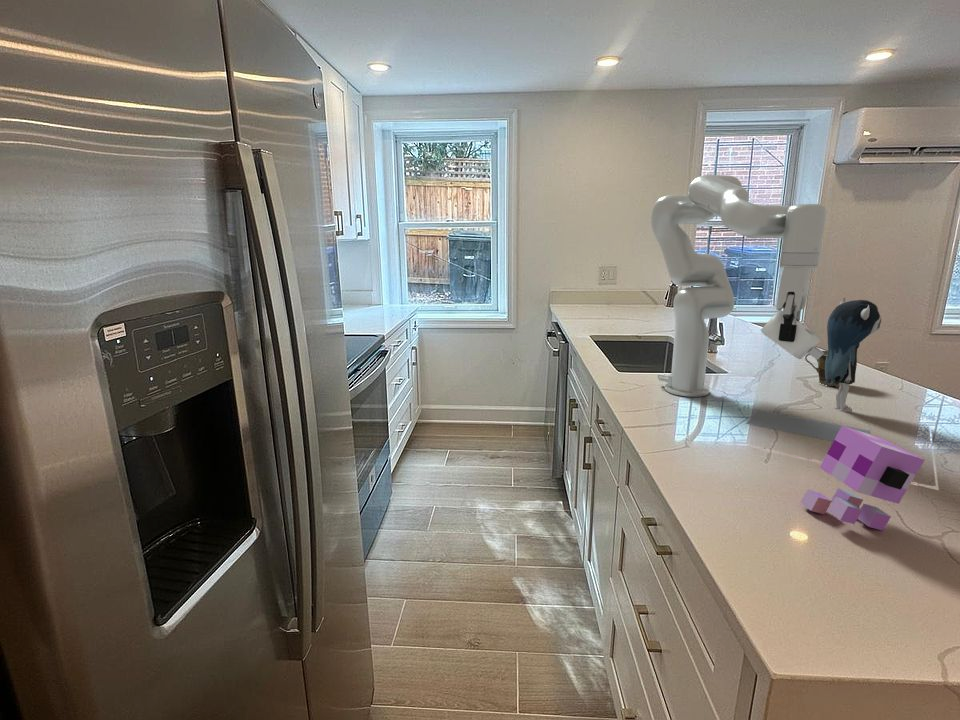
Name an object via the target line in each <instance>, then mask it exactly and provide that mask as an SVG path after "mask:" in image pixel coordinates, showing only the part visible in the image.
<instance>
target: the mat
mask: <svg viewBox="0 0 960 720" xmlns="http://www.w3.org/2000/svg"><path fill="white" fill-rule="evenodd" d="M746 425H751V426H755V427H761V428H765V429H771V430H775V431H781V432H785V433H789V434H794V435H801V436H804V437H805V436H806V437H810V438H814V439H820V440H825V441H830V442H833V441H834V439H835V437H836V436H837V434H838V432H839V430H840V428H841V426H845V427H848V428H851V429H854V430H857V431H861V432H864V433H867V434H870V430H869V429H863V428H860V427H859V428H858V427H853V426H848V425H847V426H846V425H842V424H836V423H830V422H825V421H820V420H814V419H809V418H802V417H798V416H793V415H789V414H788V415H787V414H781V413H776V412H772V411H771V412H770V411H765V410H761V409H757V410H756V411H755V413H754V414H753V415H752V416H751V417H750V418H749V419H748V421H747V422H746Z"/></svg>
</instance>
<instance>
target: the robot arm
mask: <svg viewBox="0 0 960 720" xmlns="http://www.w3.org/2000/svg"><path fill="white" fill-rule="evenodd" d="M749 200H750V196H749V192H748V190H747V189H746V188H745V187H743V185H742V182H741V181H740V179H738V178H737V177H735V176H733V175H729V174H727V175H726V174H725V175H724V174H721V175H720V174H704V175H700V176H698V177H696V178H694V179H693V180H692V181H691V183H690V184H689V186H688V189H687V194H682V193H681V194H680V193H679V194H678V193H677V194H668V195H665V196H662V197H660V198H659V199H657V200H656V201H655V203H654V204H653V207H652V210H651V216H650V224H651V227H652V232H653V235H654V236H655V238H656V240H657V242H658V245H659V247H660V249H661V252H662V256H663V259H664V262H665V264H666V269H667V271H668V272H667V273H668V275H669V278H670V281H671V282H672V284H674V285H675V286H680V287H685V288H683V289H681V290H679V291H678V292H677V293H676V294H675V296H674V298H673V303H672V304H673V305H672V307H673V314H674V336H673V337H674V338H673V350H672V360H671V373H669V374H666V373H661V372H659V373H658V374H657V380H658V381H660V382H665V384H664V391H666V392H668V393H670V394H673V395H676V396H682V397H691V398H698V397H699V398H700V397H705V396H707V395H709V394H710V389H709V387H708V386H706V385H705V381H706V370H707V363H708V362H707V360H708V352H709V342H710V332H709V329H708V326H707V324H706V322H705V320H708V319H709V320H710V319H721V318H724V317H727V316H729V315H730V314H731V313H732V312H733V310H734V307H735V295H734V291H733V289H732V286H731V283H730V281H729V278H728V274H727V272H726V267H725V266H724V263H723V262H722V260H721V259H720V258H719V257H718V256H716V255H714V254H712V253H698V252H696V251H695V249H694V246H693V245H692V241H691V239H690V236H689V235H688V234H687V233H686V231H684V230H683V228H681V227H680V225H700V224H704V223H706V222H709V221H711V220H713V219H714V218H716V217H717V216H718V217H720V220H721V222H722V224H723V225H724V226H725V228H727V229H728V230H731V231H732V232H734V233H735V234H738V235H740V236H743V237H746V238H748V239H749V238H750V239H782V243H781V244H782V245H781V253H780V259H779V268H782V272H781V277H780V282H779V286H778V287H779V288H778V291H777V292H778V294H777V299H776V305H775V309H776V311H777V312H778V311H779V310H781V311H783V315H782V321H781V324H780V332H779V341H786V342H794V341H795V334H796V327H797V325H795V324H796V320H797V321H798V322H800V320H801V313H802V310H803V309H805V308H806V305H807V301H808V296H809V290H810V284H811V275H812V270H813V269H817V268H819V262H820V254H821V248H822V242H823V235H824V230H825V228H824V227H825V223H826V222H825V221H826V215H827V208H826V206H825V205H823V204H819V203H804V204H803V203H802V204H794V205H777V204H756V203H752V202H750V201H749Z"/></svg>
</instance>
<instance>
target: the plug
mask: <svg viewBox="0 0 960 720" xmlns="http://www.w3.org/2000/svg"><path fill="white" fill-rule="evenodd" d="M782 315H783V310H782V309H781V310H779V311H778V310H777V312H776V313H775V314H774V315H773V316H772V317H771V318H770V319H769V320H768V322H766V323H765V325H763V327H761V329H760V332H761V333H762V334H763V335H764V336H766V337H767V338H768V339H770V340H771V341H772V342H774V343H775V344H776V345H778V346H779V347H780V348H782V349H783V350H785V351H786V352H788V353H789V354H790V355H791V356H793V357H794V358H796V359H799V360H803V358H805V357H806V355H807V354H810V355H809V356H811V357H812V358H814V359H815V360H816V359H817V360H818V359H819V358H820V357H821V356H822V355H823V354H824V352H822V351H823V350H821V349H819V348H818V347H817V345H818V343H820V342H821V341H822V337H820V336H819V335H818V334H817V333H816V332H814V331H812V330H811V329H810V328H809V327H807V326H805V325H804V324H803V323H801V322H800V321H799V322H798V321H797V320H796V324H795V325H797V327H796V334H795V341H794V342H786V341H779V332H780V324H781V321H782ZM817 360H816V361H817Z"/></svg>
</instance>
